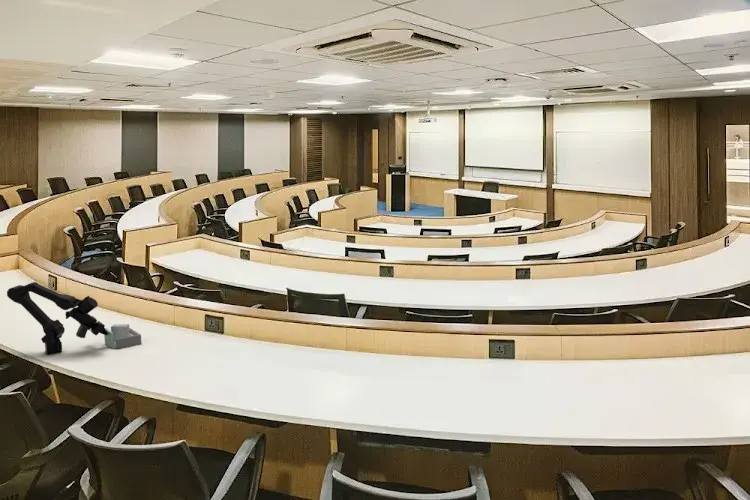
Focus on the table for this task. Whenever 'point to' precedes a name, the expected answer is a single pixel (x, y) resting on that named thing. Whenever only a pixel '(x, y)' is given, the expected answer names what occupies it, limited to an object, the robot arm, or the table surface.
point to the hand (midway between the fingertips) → (107, 334)
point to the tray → (110, 339)
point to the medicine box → (120, 331)
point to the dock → (129, 340)
